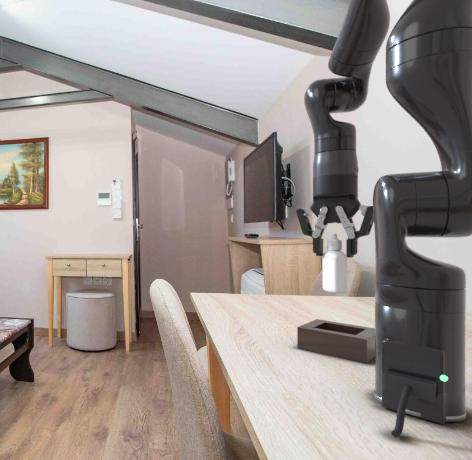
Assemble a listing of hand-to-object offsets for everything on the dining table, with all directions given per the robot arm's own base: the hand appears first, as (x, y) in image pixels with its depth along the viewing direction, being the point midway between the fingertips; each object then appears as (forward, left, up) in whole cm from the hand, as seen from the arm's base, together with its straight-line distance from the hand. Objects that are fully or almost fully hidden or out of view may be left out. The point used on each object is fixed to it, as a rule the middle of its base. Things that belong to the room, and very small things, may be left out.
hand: (334, 256), depth 79 cm
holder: (+1, -1, -20) cm, 20 cm away
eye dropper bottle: (0, 0, -8) cm, 8 cm away
